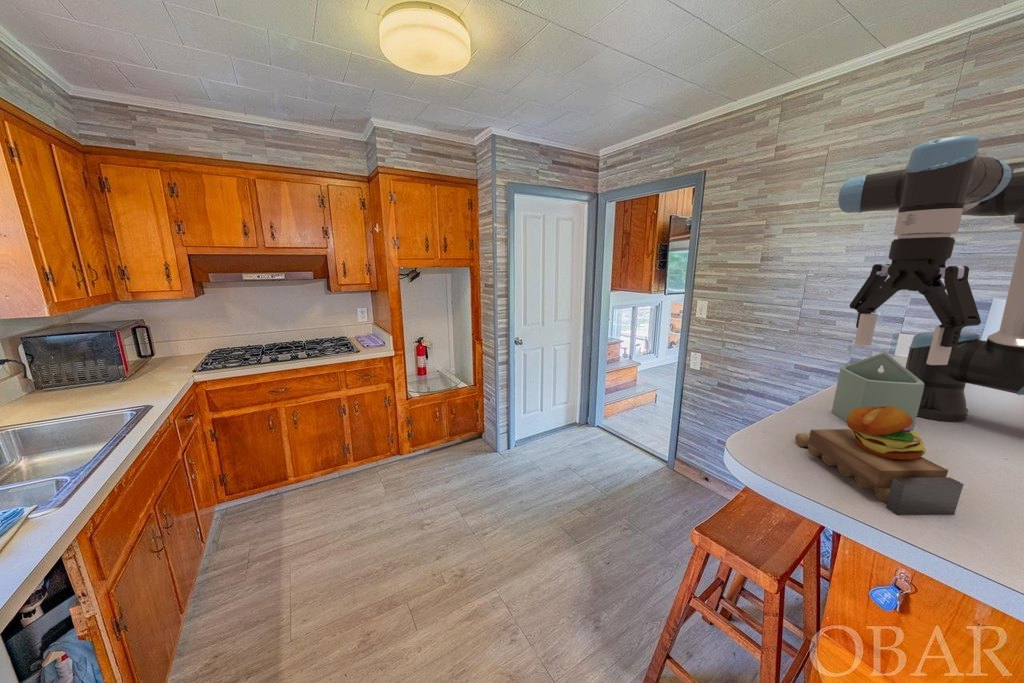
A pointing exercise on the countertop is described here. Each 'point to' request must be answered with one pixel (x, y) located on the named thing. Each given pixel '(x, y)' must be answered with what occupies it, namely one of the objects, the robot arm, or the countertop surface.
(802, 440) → the cylinder
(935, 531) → the countertop surface
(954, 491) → the stop rail
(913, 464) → the board
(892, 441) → the cheeseburger
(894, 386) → the planter
